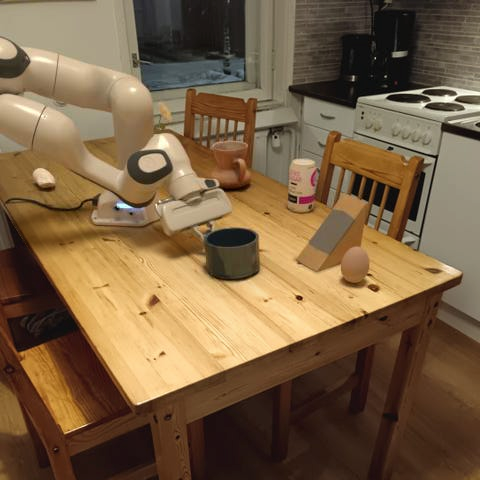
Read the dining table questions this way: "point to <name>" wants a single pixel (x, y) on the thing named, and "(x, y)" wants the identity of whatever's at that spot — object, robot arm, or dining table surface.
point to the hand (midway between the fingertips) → (209, 240)
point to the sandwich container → (336, 234)
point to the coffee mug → (232, 252)
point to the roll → (43, 178)
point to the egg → (355, 264)
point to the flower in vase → (165, 115)
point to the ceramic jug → (231, 164)
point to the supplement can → (301, 185)
